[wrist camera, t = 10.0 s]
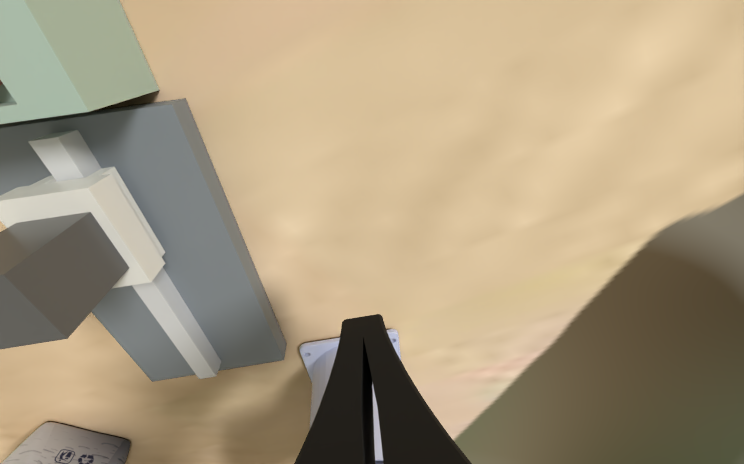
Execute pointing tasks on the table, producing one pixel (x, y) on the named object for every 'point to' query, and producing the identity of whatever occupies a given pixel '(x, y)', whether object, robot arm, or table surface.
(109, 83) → the end cabinet
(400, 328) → the table surface
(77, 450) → the juice carton
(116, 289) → the rail board
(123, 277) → the carriage
